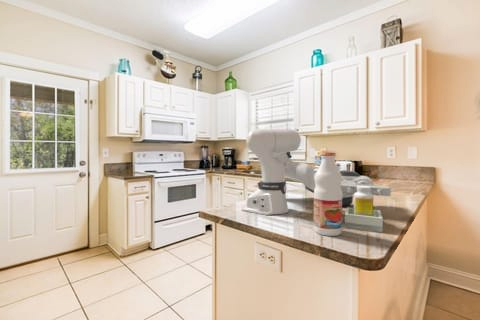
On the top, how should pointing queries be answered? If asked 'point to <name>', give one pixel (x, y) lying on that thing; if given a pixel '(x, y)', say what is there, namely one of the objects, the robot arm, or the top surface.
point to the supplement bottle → (363, 201)
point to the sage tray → (364, 221)
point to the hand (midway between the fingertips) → (363, 192)
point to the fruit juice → (328, 197)
